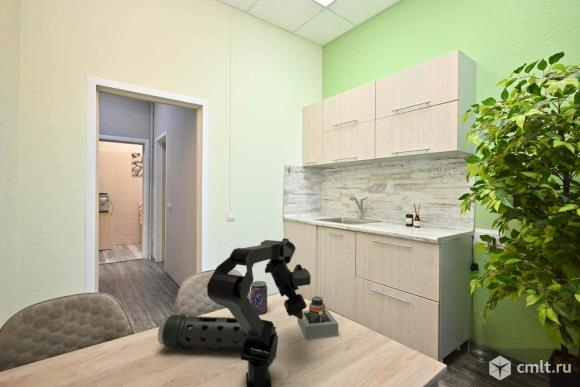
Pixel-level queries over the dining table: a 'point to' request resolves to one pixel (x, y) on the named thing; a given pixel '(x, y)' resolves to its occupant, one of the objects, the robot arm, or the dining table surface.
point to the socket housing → (318, 326)
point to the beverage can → (259, 296)
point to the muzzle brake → (201, 332)
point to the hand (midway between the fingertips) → (297, 308)
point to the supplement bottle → (316, 310)
